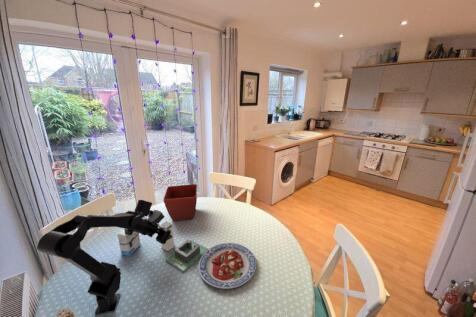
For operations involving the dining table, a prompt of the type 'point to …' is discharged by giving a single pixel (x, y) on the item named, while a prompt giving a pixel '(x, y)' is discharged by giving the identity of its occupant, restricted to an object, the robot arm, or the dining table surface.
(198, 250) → the header board
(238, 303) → the dining table surface
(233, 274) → the ceramic plate
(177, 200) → the plant pot
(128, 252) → the ink box
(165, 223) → the keyed plug
